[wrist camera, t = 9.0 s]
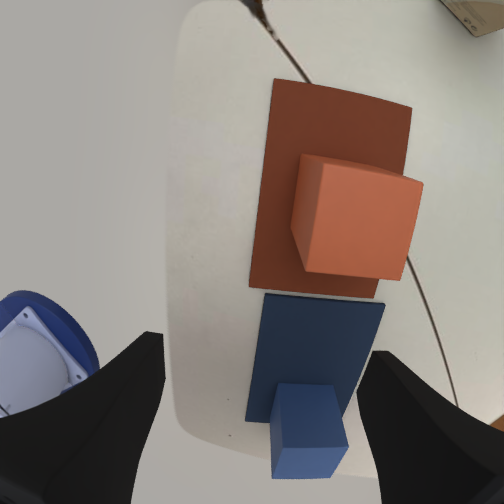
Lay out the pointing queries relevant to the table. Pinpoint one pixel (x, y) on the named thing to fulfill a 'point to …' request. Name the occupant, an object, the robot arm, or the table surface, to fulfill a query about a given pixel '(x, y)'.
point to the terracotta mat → (326, 145)
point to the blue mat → (310, 347)
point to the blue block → (306, 432)
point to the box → (478, 14)
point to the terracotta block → (353, 218)
